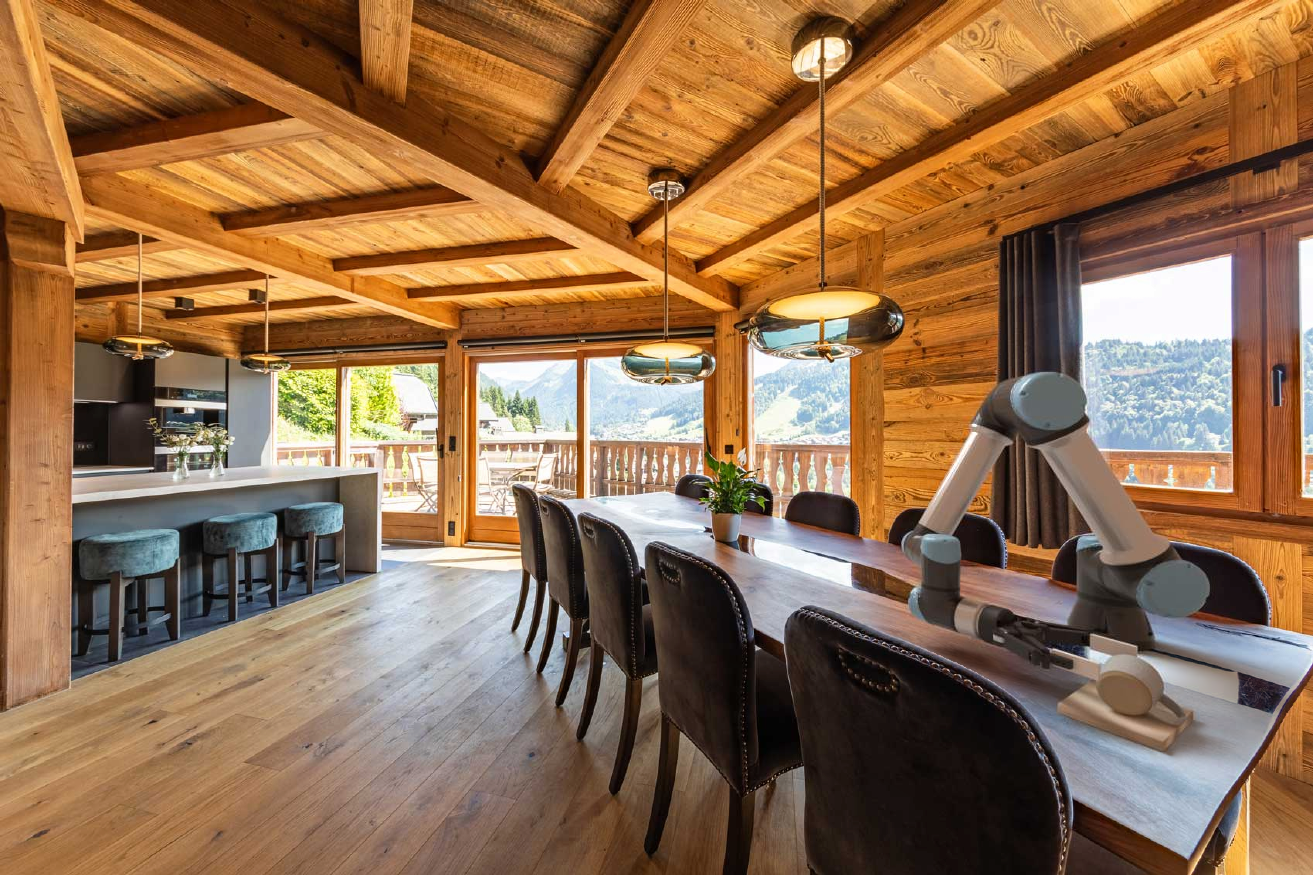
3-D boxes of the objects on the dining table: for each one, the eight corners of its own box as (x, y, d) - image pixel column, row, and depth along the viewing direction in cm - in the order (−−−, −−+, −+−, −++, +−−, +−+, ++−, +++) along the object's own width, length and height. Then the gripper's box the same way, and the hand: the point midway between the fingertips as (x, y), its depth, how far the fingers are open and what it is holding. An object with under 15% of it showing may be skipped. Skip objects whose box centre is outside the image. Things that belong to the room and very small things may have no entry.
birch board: (1093, 687, 97) (1093, 678, 97) (1193, 719, 86) (1193, 710, 86) (1057, 712, 88) (1057, 703, 88) (1162, 752, 77) (1163, 741, 77)
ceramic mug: (1092, 707, 87) (1094, 660, 86) (1103, 691, 92) (1104, 647, 92) (1183, 736, 79) (1185, 685, 78) (1189, 717, 84) (1191, 669, 84)
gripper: (1020, 629, 112) (1150, 669, 93) (948, 653, 100) (1081, 704, 81) (1020, 594, 112) (1150, 626, 93) (948, 614, 100) (1082, 655, 81)
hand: (1119, 663), depth 87 cm, fingers open, 13 cm apart
